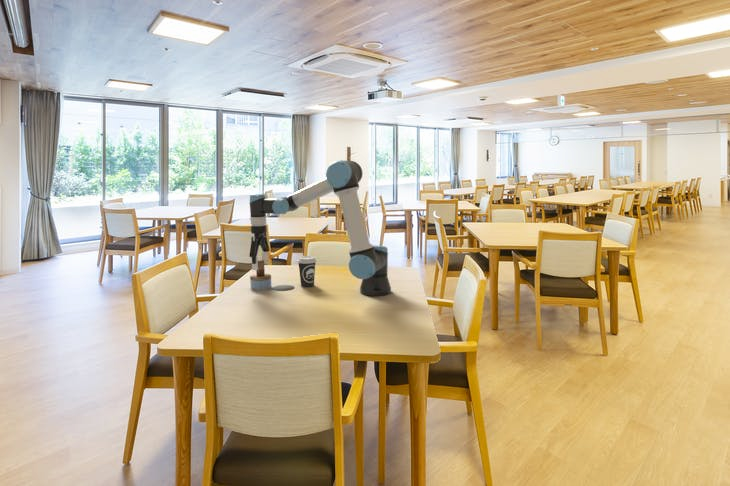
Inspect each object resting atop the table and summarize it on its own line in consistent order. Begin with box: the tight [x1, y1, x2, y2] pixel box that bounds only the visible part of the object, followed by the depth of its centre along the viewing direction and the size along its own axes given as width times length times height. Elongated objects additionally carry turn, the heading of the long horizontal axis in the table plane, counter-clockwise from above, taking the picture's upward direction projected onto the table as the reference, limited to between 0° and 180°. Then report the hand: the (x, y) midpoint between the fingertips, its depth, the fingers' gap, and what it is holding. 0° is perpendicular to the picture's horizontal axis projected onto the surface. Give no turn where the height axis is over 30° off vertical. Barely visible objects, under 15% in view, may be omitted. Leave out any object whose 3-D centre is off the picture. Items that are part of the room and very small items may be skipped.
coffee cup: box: [297, 255, 317, 288], centre depth 240 cm, size 10×10×15 cm
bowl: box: [249, 278, 272, 291], centre depth 237 cm, size 10×10×5 cm
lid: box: [249, 259, 272, 281], centre depth 236 cm, size 10×10×9 cm
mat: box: [271, 284, 295, 292], centre depth 236 cm, size 11×11×1 cm
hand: (260, 267), depth 236 cm, fingers open, 13 cm apart
